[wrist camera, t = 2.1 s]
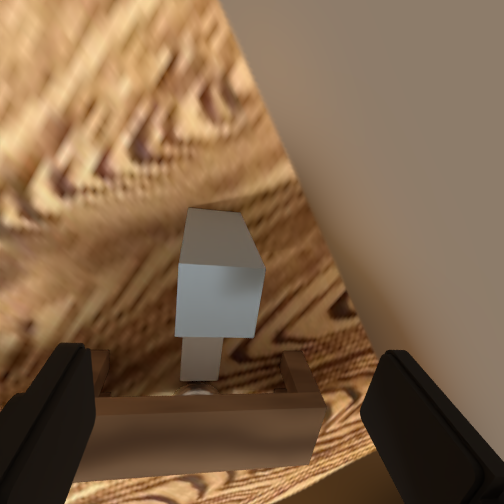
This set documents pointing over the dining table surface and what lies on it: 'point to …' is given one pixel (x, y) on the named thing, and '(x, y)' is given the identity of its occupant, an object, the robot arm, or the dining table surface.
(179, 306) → the grey block
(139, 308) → the dining table surface
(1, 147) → the dining table surface
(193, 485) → the dining table surface
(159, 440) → the stand
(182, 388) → the token
